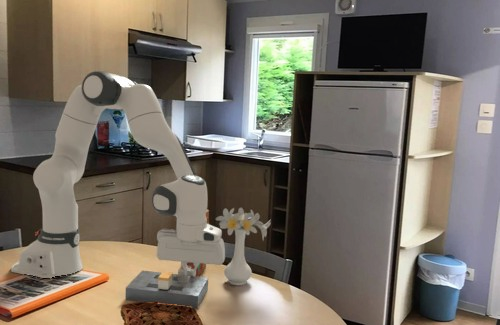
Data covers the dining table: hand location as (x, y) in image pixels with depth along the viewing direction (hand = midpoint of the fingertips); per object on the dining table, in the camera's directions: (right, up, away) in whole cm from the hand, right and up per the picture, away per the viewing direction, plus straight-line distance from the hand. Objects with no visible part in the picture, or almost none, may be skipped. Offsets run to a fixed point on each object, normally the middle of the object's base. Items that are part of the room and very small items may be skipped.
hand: (190, 275), depth 140 cm
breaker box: (-8, -7, +5) cm, 12 cm away
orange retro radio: (-2, -5, +25) cm, 25 cm away
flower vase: (+14, -7, +19) cm, 24 cm away
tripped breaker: (-8, -4, +1) cm, 9 cm away
